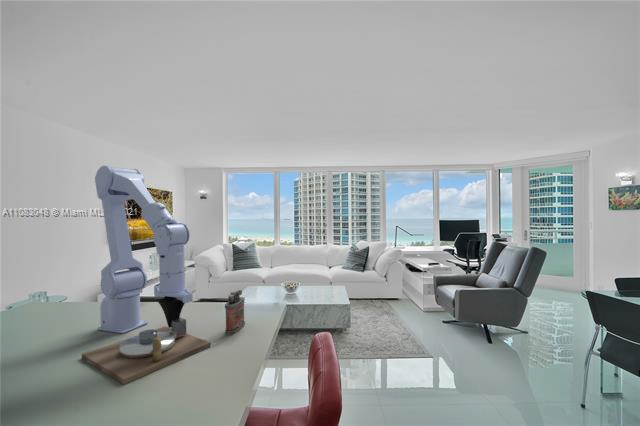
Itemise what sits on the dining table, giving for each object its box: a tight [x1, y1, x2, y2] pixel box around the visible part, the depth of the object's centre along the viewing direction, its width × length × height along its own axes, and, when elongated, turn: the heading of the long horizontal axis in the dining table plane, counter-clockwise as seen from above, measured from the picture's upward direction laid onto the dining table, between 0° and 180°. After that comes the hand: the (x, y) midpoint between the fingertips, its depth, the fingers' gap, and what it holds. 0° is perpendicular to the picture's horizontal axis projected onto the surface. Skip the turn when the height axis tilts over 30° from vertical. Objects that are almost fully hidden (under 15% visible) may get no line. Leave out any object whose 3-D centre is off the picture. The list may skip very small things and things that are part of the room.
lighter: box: [224, 289, 246, 336], centre depth 85 cm, size 8×3×10 cm, turn 168°
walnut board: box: [81, 325, 211, 385], centre depth 72 cm, size 19×19×6 cm
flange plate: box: [120, 317, 187, 358], centre depth 73 cm, size 11×14×4 cm
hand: (173, 326), depth 79 cm, fingers closed
